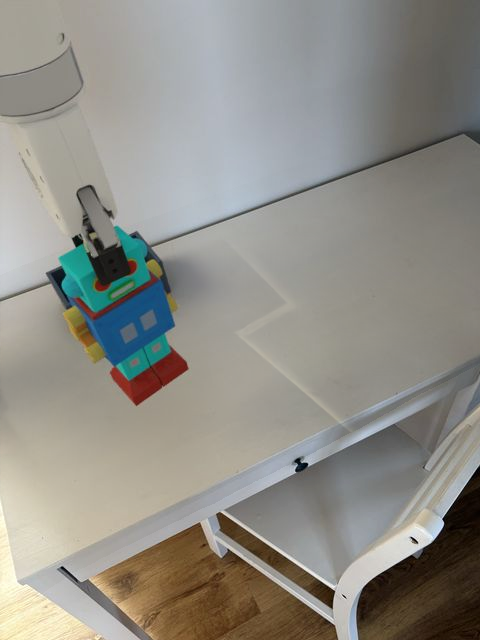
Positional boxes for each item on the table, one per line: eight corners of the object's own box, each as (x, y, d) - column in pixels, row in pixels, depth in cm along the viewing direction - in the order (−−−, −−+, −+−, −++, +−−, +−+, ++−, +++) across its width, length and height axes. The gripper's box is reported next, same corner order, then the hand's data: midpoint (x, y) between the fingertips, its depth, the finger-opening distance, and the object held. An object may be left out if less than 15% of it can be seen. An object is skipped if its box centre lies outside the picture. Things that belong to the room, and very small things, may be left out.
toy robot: (124, 415, 66) (45, 265, 46) (99, 385, 68) (15, 232, 49) (199, 362, 70) (156, 204, 50) (172, 336, 73) (121, 177, 53)
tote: (81, 336, 92) (65, 307, 86) (61, 303, 97) (45, 272, 91) (171, 291, 97) (161, 260, 91) (147, 261, 102) (136, 230, 96)
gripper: (-51, 54, 43) (40, 231, 57) (13, 147, 33) (102, 331, 48) (39, 26, 45) (104, 204, 59) (122, 106, 36) (176, 294, 50)
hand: (103, 259), depth 53 cm, fingers closed on toy robot, 5 cm apart
